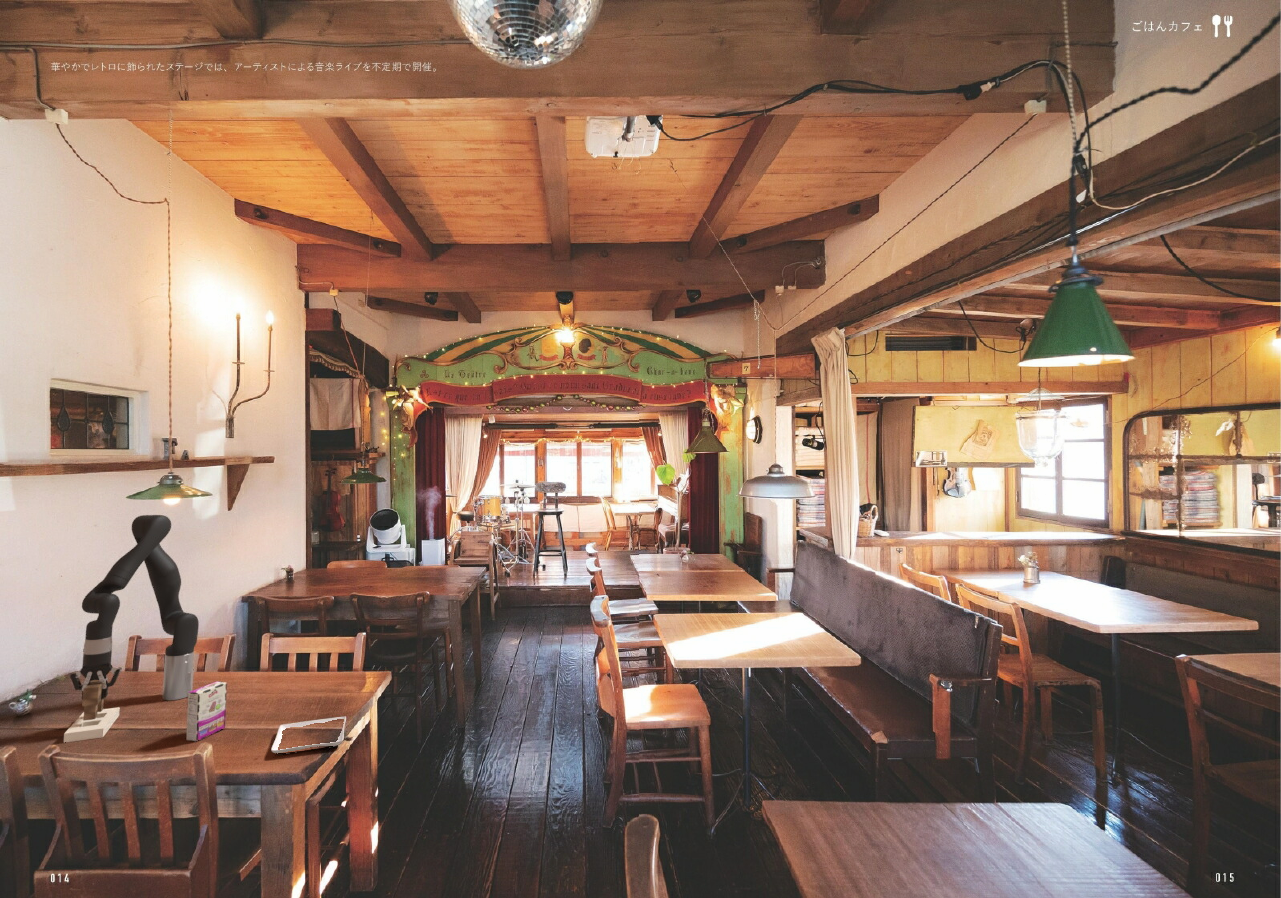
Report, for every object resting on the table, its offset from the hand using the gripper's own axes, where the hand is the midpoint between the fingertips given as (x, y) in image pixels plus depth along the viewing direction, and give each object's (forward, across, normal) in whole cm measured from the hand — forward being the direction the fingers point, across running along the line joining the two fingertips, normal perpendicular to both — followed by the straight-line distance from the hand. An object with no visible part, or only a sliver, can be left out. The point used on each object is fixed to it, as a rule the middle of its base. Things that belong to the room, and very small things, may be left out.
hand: (94, 699), depth 212 cm
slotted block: (+10, 0, 0) cm, 10 cm away
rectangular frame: (+10, -67, +41) cm, 79 cm away
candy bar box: (+10, -35, +21) cm, 42 cm away
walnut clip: (+5, 0, 0) cm, 5 cm away
